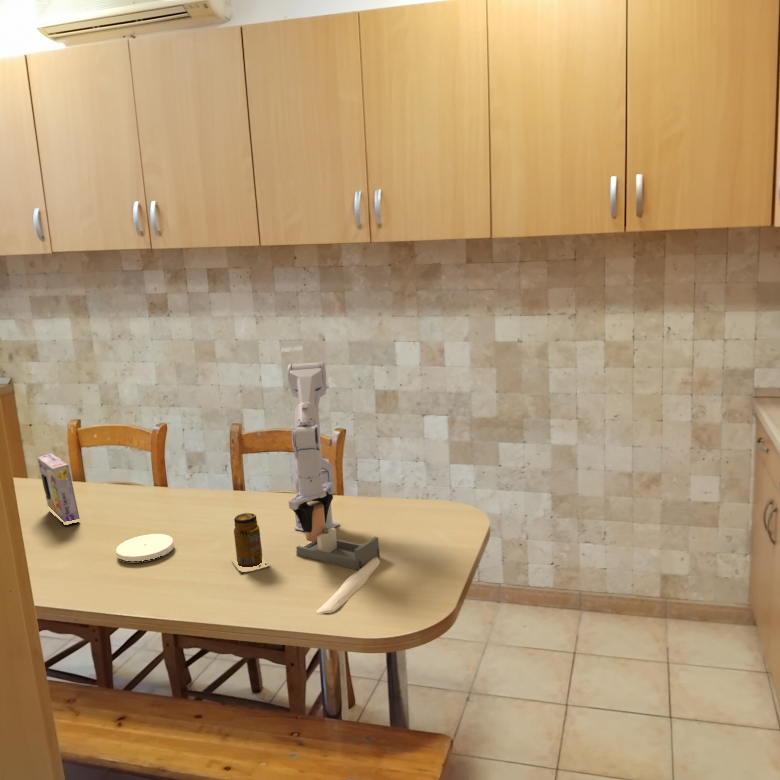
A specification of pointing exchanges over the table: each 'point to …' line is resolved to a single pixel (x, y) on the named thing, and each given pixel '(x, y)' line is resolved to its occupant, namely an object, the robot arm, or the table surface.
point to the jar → (316, 521)
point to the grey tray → (343, 553)
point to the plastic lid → (145, 547)
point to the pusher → (327, 540)
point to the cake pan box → (58, 487)
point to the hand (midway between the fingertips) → (314, 527)
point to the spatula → (349, 587)
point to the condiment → (247, 540)
